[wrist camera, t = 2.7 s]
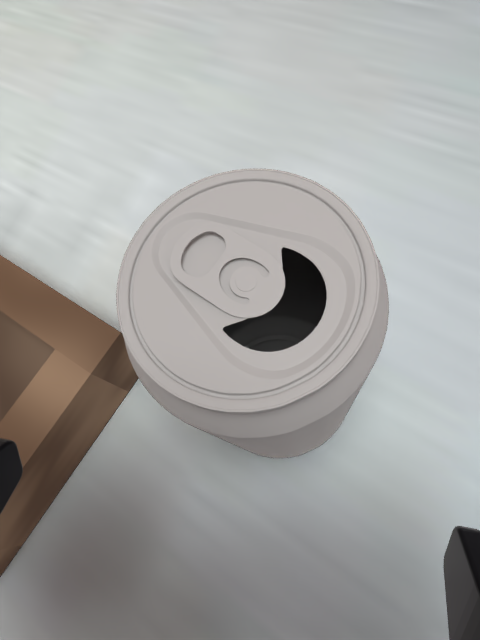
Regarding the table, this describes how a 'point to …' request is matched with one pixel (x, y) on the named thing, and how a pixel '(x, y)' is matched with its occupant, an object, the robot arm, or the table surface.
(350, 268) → the beverage can
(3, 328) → the socket block
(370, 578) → the table surface
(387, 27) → the table surface
